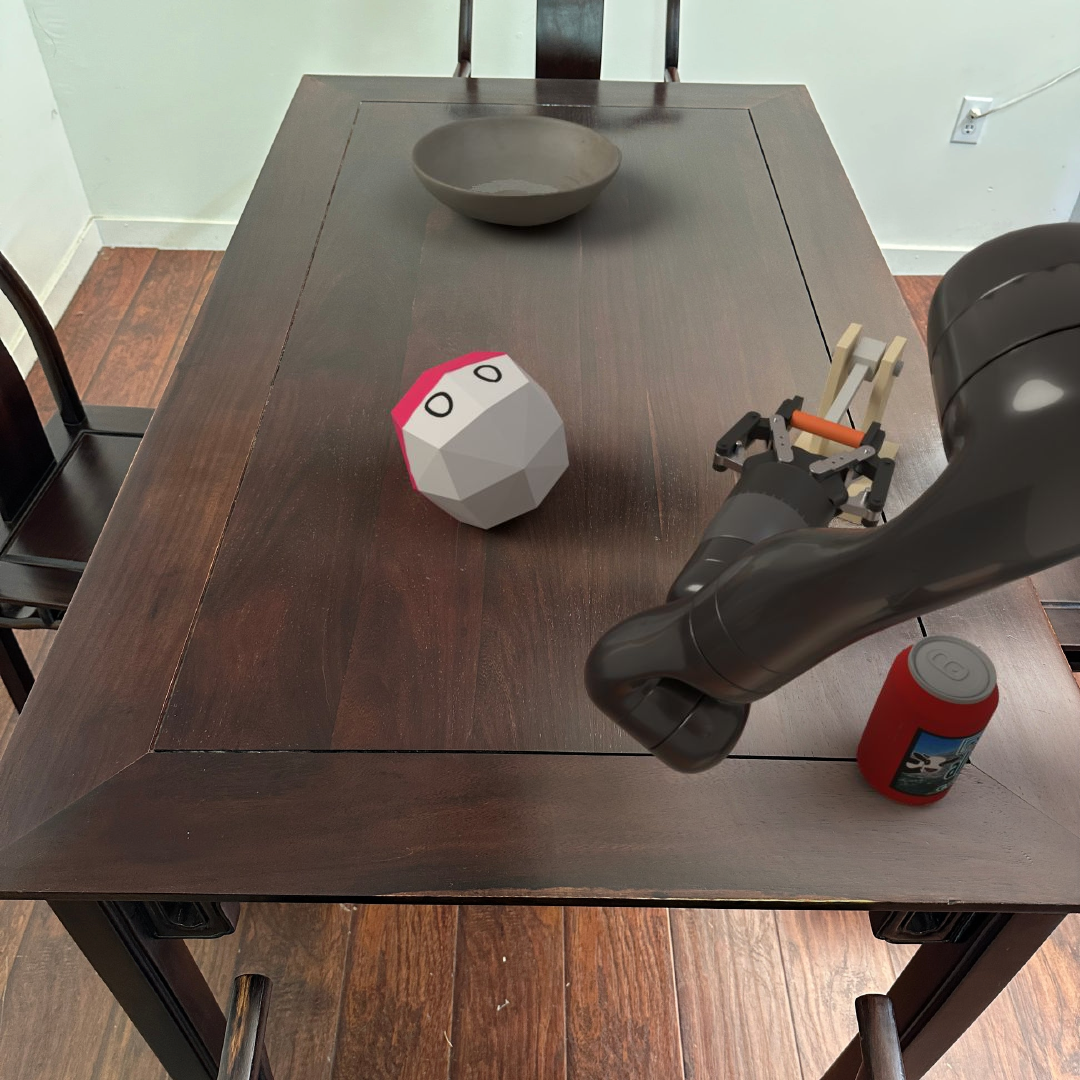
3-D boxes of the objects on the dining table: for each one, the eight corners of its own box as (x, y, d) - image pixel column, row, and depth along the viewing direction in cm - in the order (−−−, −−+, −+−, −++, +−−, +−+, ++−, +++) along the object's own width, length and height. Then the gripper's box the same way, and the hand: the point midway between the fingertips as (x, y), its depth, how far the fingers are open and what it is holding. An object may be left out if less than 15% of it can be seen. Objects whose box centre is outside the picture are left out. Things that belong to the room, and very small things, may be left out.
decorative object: (471, 301, 88) (560, 344, 77) (532, 425, 97) (619, 479, 86) (338, 396, 85) (411, 455, 74) (415, 515, 94) (489, 583, 83)
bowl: (623, 258, 124) (629, 196, 118) (406, 255, 124) (400, 193, 118) (612, 170, 144) (616, 113, 138) (424, 167, 144) (420, 110, 138)
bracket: (859, 525, 88) (904, 392, 78) (767, 491, 92) (798, 358, 81) (896, 455, 96) (942, 325, 86) (809, 426, 99) (843, 297, 89)
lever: (856, 457, 79) (862, 436, 77) (787, 433, 81) (791, 412, 79) (902, 370, 85) (909, 349, 83) (836, 350, 87) (842, 329, 86)
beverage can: (912, 830, 66) (969, 728, 58) (833, 764, 70) (876, 659, 62) (968, 776, 69) (1030, 672, 61) (889, 716, 73) (938, 610, 65)
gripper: (870, 536, 66) (934, 409, 76) (679, 464, 71) (763, 353, 81) (844, 608, 71) (908, 480, 81) (668, 536, 76) (748, 424, 87)
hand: (835, 417), depth 81 cm, fingers closed on lever, 6 cm apart
